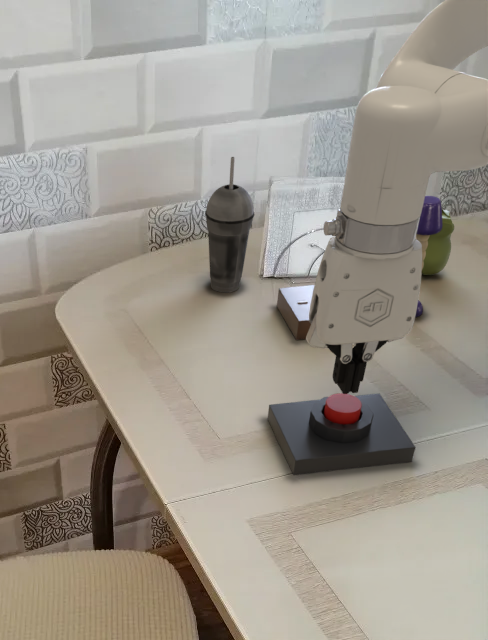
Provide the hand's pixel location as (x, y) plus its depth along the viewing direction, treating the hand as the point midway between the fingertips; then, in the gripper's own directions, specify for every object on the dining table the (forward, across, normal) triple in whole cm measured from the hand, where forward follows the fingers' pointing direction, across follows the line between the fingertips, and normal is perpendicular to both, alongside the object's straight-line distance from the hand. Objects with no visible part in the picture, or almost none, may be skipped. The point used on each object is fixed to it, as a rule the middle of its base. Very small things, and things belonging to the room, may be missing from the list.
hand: (346, 386), depth 90 cm
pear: (+8, +28, +39) cm, 49 cm away
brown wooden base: (+8, +8, +28) cm, 30 cm away
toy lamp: (+8, +20, +28) cm, 35 cm away
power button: (+4, 0, 0) cm, 4 cm away
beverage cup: (+8, -4, +41) cm, 42 cm away
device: (+8, 0, 0) cm, 8 cm away
